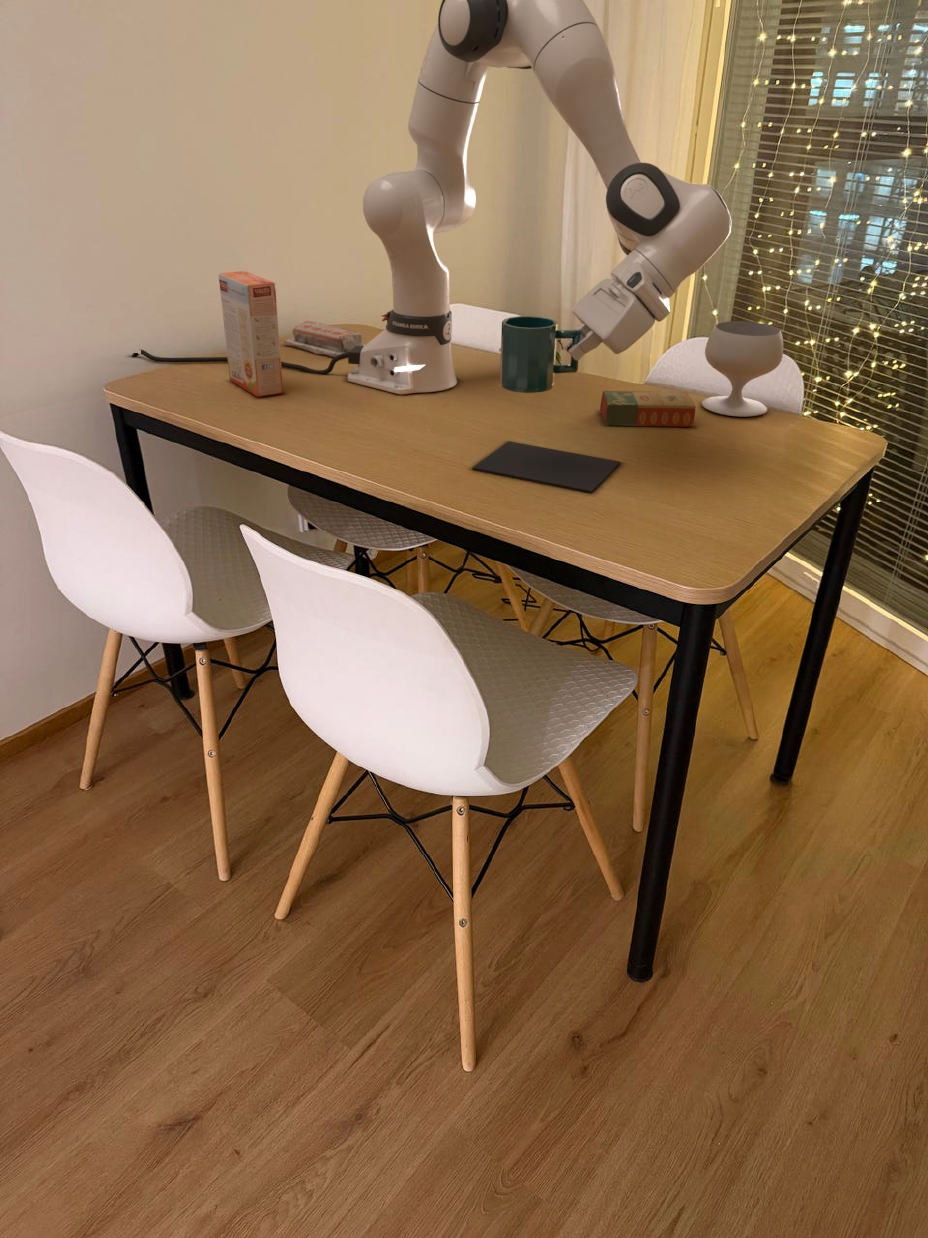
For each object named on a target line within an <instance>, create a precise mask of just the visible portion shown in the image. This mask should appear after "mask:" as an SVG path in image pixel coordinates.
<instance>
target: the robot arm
mask: <svg viewBox="0 0 928 1238" xmlns="http://www.w3.org/2000/svg"><path fill="white" fill-rule="evenodd" d="M612 59H613V58H612V56H611V53H610V50H609V47H608V44H607V41H606V40H605V37H604V35H603V33H602V31H601V29H600V27H599V25H598V23H597V21H596V19H595V17H594V16H593V14H592V12H591V10H590V8H588V5H587V4H586V3H585V1H584V0H441V3H440V6H439V9H438V16H437V23H436V26H435V28H434V30H433V32H432V35H431V37H430V39H429V43H428V44H427V48H426V50H425V54H424V57H423V60H422V64H421V66H420V70H419V75H418V79H417V83H416V87H415V92H414V97H413V100H412V103H411V110H410V114H409V118H408V124H407V130H408V133H409V135H410V137H411V140H413V142H414V143H415V145H416V151H417V155H416V156H417V157H416V158H417V159H416V165H415V168H414V169H413V170H409V171H408V170H407V171H397V172H391V173H387V174H385V175H383V176H381V177H379V178H377V179H375V180H372V182H370V183H369V184H368V185H367V186H366V189H365V191H364V193H363V197H362V213H363V217H364V219H365V223H366V225H368V227H369V229H370V230H371V231H372V232H373V233H374V234H375V235H376V236H377V237H378V238H379V240H380V241H381V243H382V245H383V247H384V250H385V252H386V255H387V258H388V261H389V266H390V273H391V284H392V285H391V286H392V309H391V310H390V311H387V312H386V313H385V314H382V315H381V316H380V317H382V319H381V322H386V325H385V329H383V330H382V331H381V332H380V333H378V334H377V335H376V336H375V337H373V339H371V340H370V341H368V342H367V343H366V345H365V346H355V347H354V348H353V349H351V350H350V351H349V352H347V353H343V354H340V355H338V356H336V357H332V359H331V360H330V362H329V364H328V367H327V368H325V369H315V368H310V367H307V366H304V365H300V364H296V363H291V362H285V361H281V368H287V369H292V370H297V371H302V372H304V373H309V374H312V375H313V374H314V375H327V374H330V373H331V372H332V371H333V370H334V368H335V365H336V363H338V362H339V361H340V360H343V359H347V364H348V365H357V367H356V368H353V369H352V370H351V371H349V372H348V374H347V382H349V383H353V384H358V385H361V386H364V387H369V388H373V389H377V390H381V391H385V392H389V393H393V394H397V395H410V394H416V393H433V392H440V391H445V390H449V389H451V388H453V387H455V386H456V385H457V383H458V379H457V376H456V372H455V368H454V363H453V362H454V361H453V356H452V346H451V341H452V334H453V333H452V332H453V316H452V311H451V310H450V309H451V308H450V306H451V305H450V300H451V298H450V297H451V274H450V273H451V272H450V269H449V266H448V265H447V263H446V262H444V261H443V260H441V259H440V257H439V255H438V253H437V250H436V246H435V241H434V234H440V233H444V232H450V231H452V230H454V229H456V228H458V227H460V226H462V225H464V224H465V223H467V222H468V221H469V220H470V218H472V217H473V216H472V215H473V214H474V212H475V208H476V201H477V199H476V198H477V197H476V190H475V188H474V185H473V183H472V181H471V180H470V178H469V172H468V171H469V170H468V153H469V145H470V141H471V136H472V132H473V128H474V126H475V125H474V124H475V121H476V117H477V113H478V110H479V105H480V102H481V98H482V93H483V90H484V86H485V81H486V78H487V76H488V74H489V73H490V71H491V70H492V69H493V68H498V69H499V68H507V69H519V70H520V69H521V70H531V69H532V71H533V74H534V76H535V78H536V80H537V82H538V84H539V86H540V87H541V89H542V91H543V93H544V94H545V95H546V97H547V99H548V100H549V102H550V104H551V105H552V106H553V107H554V109H555V110H556V111H557V113H558V114H559V115H560V117H562V119H563V120H564V122H565V124H566V125H568V127H569V129H570V130H571V131H572V132H573V133H574V135H575V136H576V137H577V139H578V140H579V142H580V143H581V144H582V145H583V147H584V149H585V150H586V151H587V153H588V154H589V155H590V157H591V159H592V161H593V163H594V165H595V167H596V169H597V171H598V173H599V175H600V178H601V179H602V181H603V184H604V186H605V188H606V193H605V205H606V211H607V214H608V217H609V218H610V223H611V224H612V226H613V229H614V231H615V234H616V236H617V240H618V244H619V247H620V249H621V250H622V252H623V253H624V254H625V255H626V256H625V257H624V258H623V259H622V261H620V262H619V263H618V264H617V265H616V266H615V267H614V268H613V270H612V271H610V276H611V277H612V278H611V279H610V278H604V279H602V280H601V281H600V282H598V283H597V284H595V286H593V288H592V289H591V290H589V291H588V292H587V293H585V295H584V296H583V297H582V298H581V299H579V300H578V301H577V302H576V303H575V305H574V306H573V308H572V310H571V312H572V314H573V315H574V316H575V317H576V319H577V320H578V321H579V322H580V323H581V324H580V325H579V326H578V327H577V328H576V330H578V331H580V342H579V343H578V344H576V343H575V344H574V345H573V346H572V338H570V340H568V341H567V343H566V344H564V345H563V346H564V350H565V351H566V352H567V353H568V354H569V355H570V357H571V356H572V357H573V358H574V359H575V360H576V361H578V360H581V359H582V357H584V356H585V355H586V354H588V353H590V352H592V351H593V350H595V349H597V348H598V347H599V346H601V344H602V343H603V344H604V346H606V347H607V348H608V349H609V350H610V351H611V352H612V353H613V354H615V355H619V354H621V353H624V352H625V351H627V350H628V349H630V348H631V347H632V346H633V345H634V344H636V342H637V341H639V340H640V339H641V338H642V337H643V336H644V335H645V334H646V333H647V332H648V331H649V330H651V329H652V328H653V326H654V325H655V323H656V322H658V323H660V322H662V321H663V320H665V319H666V318H667V317H668V316H669V315H670V313H671V308H670V298H671V297H672V296H674V294H676V292H677V291H678V290H679V288H680V286H681V284H682V283H683V282H684V281H685V280H686V279H688V278H689V277H690V276H692V275H694V274H696V273H697V272H698V271H700V269H701V268H702V267H704V265H705V264H707V262H709V260H710V259H711V258H712V257H713V256H714V255H715V254H716V253H717V252H718V250H719V249H720V248H721V247H722V246H723V244H724V243H725V242H726V240H727V239H728V237H729V236H730V234H731V233H732V217H731V213H730V211H729V208H728V206H727V204H726V202H725V200H724V198H723V197H722V196H721V194H720V193H719V192H718V190H717V189H715V188H714V187H713V186H712V185H711V184H709V183H693V182H688V181H685V180H682V179H680V178H678V177H675V176H672V175H671V174H670V173H667V172H665V171H663V170H661V169H660V167H658V166H657V165H655V164H652V163H649V162H641V159H640V158H639V156H638V154H637V153H638V152H637V151H636V149H635V147H634V145H633V143H632V140H631V137H630V135H629V132H628V129H627V126H626V122H625V118H624V113H623V108H622V103H621V97H620V92H619V86H618V80H617V76H616V72H615V67H614V63H613V60H612ZM140 350H141V354H138V353H134V352H133V353H132V354H131V358H138V356H139V355H142V356H144V357H145V358H147V359H149V360H151V361H153V362H157V363H173V364H175V363H176V364H177V363H228V357H227V356H208V357H207V356H206V357H205V356H202V357H198V356H197V357H195V356H194V357H192V356H190V357H189V356H188V357H187V356H186V357H162V356H155V355H153V354H151V353H149V352H148V351H146V350H144V349H140ZM578 362H579V361H578Z"/></svg>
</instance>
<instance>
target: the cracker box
mask: <svg viewBox="0 0 928 1238" xmlns="http://www.w3.org/2000/svg"><path fill="white" fill-rule="evenodd" d="M218 282H219V283H218V284H219V291H220V299H221V309H222V318H223V328H224V336H225V346H226V355H227V356H226V357H228V362H227V365H228V374H229V375H228V376H229V381H230V382H232V383H233V384H235V385H237V386H239V387H240V388H242V389H244V390H245V391H247V392H248V393H250V394H251V395H253V396H255V397H257V398H259V397H260V398H261V397H267V396H274V395H275V396H276V395H280V394H284V383H283V371H282V369H283V368H282V367H281V362H282V357H281V356H282V355H281V344H280V343H281V342H280V329H279V319H278V318H279V317H278V306H277V305H278V304H277V291H276V283H275V282H274V281H271V280H268V279H266V278H263V277H261V276H258V275H255V274H253V273H251V272H248V271H244V270H243V271H242V270H240V271H229V272H221V273H218Z"/></svg>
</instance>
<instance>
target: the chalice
mask: <svg viewBox="0 0 928 1238" xmlns="http://www.w3.org/2000/svg"><path fill="white" fill-rule="evenodd" d="M708 336H709V337H708V339H707V342H706V344H705V347H704V356H705V359H706V362H707V363H708V364H709V365H710V366H711V367H712V368H713V369H714V370H715V371H717V372H719V374H721V375H723V376H724V377H725V378H726V379H727V380H728V381H729V382H730V384H731V389H732V390H731V393H730V394H729V395H718V396H717V395H716V396H710V397H707V398H705V399H703V400H702V402H701V405H702V406H703V408H704V409H706V410H708V411H710V412H713V413H717V414H720V415H725V416H732V417H755V416H761V415H764V414H765V413H766V412H768V407H767V406H766V405H765V404H764V403H762V402H760V401H758V400H755V399H752V398H748V397H744V396H743V394H742V393H743V389H744V387H745V386H746V385H747V384H748V383H749V382H750V381H752V380H755V379H757V378H759V377H762V376H764V375H766V374H769V373H771V372H773V371H774V370H775V369H776V368H778V367H779V365H780V364H781V363H782V360H783V357H784V339H783V338H784V337H783V334H782V331H781V330H780V329H779V328H778V327H777V326H774V325H771V324H767V323H761V322H755V321H744V320H743V321H742V320H734V321H733V320H732V321H724V322H723V321H722V322H719V323H717V324H716V325H715V326H714V327H713V328H712V330H711V332H710V334H709V335H708Z"/></svg>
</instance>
